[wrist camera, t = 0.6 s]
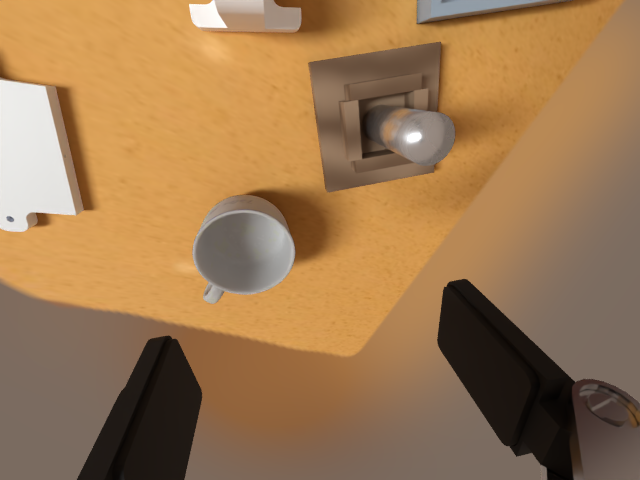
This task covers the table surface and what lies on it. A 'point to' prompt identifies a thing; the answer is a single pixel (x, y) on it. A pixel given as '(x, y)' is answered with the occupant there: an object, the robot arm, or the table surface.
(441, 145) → the pin
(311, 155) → the table surface
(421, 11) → the tray
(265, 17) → the cable organizer
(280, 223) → the teacup
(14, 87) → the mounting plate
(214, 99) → the table surface
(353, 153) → the brown square socket base
